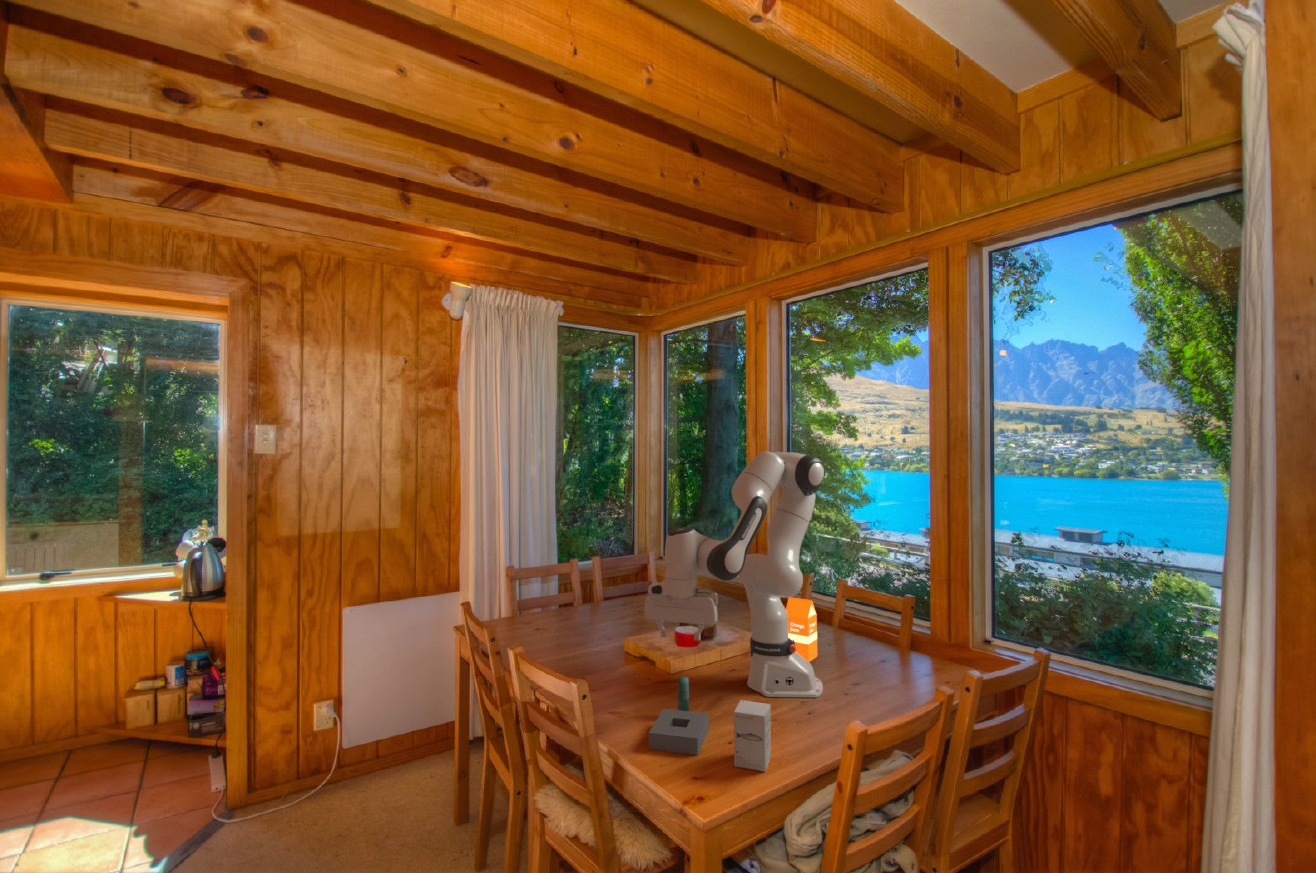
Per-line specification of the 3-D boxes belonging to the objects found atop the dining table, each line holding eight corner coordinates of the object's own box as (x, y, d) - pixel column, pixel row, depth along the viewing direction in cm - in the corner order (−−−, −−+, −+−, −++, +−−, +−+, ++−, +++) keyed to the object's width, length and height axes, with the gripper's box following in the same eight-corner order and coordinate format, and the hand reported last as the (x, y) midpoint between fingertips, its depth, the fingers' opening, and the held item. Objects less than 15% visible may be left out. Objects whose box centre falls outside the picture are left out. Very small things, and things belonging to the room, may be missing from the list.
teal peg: (690, 713, 166) (689, 677, 166) (687, 718, 163) (687, 681, 163) (679, 712, 167) (679, 676, 167) (676, 717, 164) (676, 680, 164)
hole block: (708, 728, 157) (708, 713, 157) (697, 755, 143) (697, 738, 143) (663, 723, 160) (663, 708, 160) (648, 749, 146) (648, 732, 147)
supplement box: (733, 767, 138) (732, 711, 138) (740, 752, 145) (740, 698, 145) (765, 773, 135) (764, 715, 135) (772, 757, 142) (771, 702, 142)
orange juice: (808, 662, 204) (807, 602, 205) (784, 657, 210) (783, 599, 210) (817, 655, 210) (816, 597, 211) (794, 651, 216) (793, 594, 216)
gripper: (720, 587, 166) (720, 638, 166) (649, 582, 172) (649, 631, 172) (715, 592, 160) (715, 645, 160) (642, 587, 166) (641, 637, 166)
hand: (680, 638), depth 166 cm, fingers open, 8 cm apart
